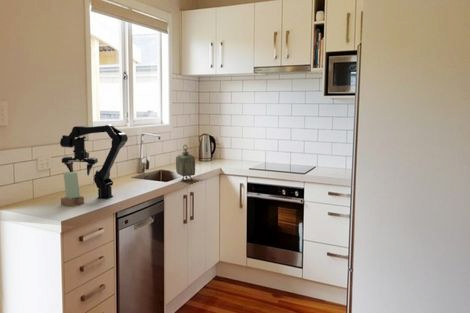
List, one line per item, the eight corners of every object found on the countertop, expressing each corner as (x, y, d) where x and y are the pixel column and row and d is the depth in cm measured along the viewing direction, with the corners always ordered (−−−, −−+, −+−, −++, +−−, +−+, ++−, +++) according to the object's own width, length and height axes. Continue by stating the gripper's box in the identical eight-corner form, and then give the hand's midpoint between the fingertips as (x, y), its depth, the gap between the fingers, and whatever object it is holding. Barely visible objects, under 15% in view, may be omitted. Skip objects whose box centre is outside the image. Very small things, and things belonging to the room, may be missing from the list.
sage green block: (75, 195, 212) (72, 171, 210) (79, 196, 209) (77, 172, 207) (66, 197, 208) (63, 173, 207) (70, 198, 205) (67, 174, 203)
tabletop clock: (195, 181, 272) (194, 145, 269) (183, 182, 268) (182, 145, 264) (187, 178, 284) (187, 143, 281) (175, 179, 280) (175, 144, 277)
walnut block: (74, 202, 215) (73, 195, 214) (84, 204, 211) (83, 196, 210) (61, 205, 208) (60, 198, 207) (71, 207, 204) (70, 199, 203)
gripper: (100, 146, 232) (101, 172, 234) (69, 145, 232) (70, 171, 235) (93, 149, 221) (94, 176, 223) (60, 148, 221) (61, 175, 224)
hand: (80, 175), depth 227 cm, fingers open, 9 cm apart
